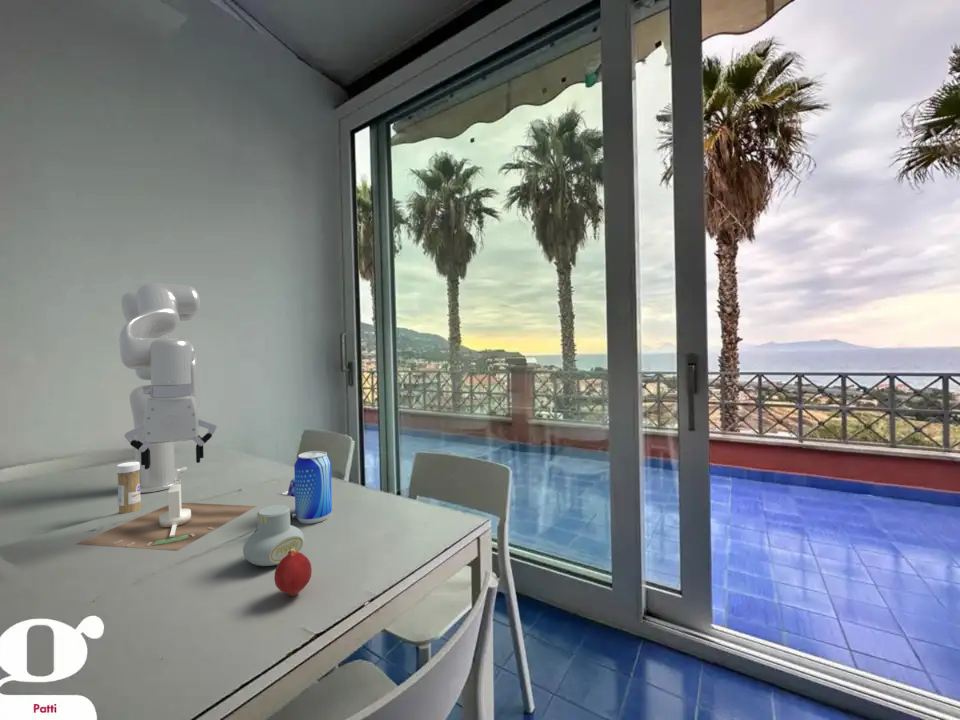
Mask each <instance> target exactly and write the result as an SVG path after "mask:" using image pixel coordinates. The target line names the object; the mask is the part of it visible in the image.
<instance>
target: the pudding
mask: <svg viewBox="0 0 960 720" xmlns="http://www.w3.org/2000/svg"><path fill="white" fill-rule="evenodd" d="M281 494H282V495H285V496H290V497H294V498H295V477H293V478H292V479H291V481H290V482H289V487H288V489H287V490H286V491H285V492H283V493H281Z"/></svg>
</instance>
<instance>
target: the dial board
mask: <svg viewBox="0 0 960 720" xmlns="http://www.w3.org/2000/svg"><path fill="white" fill-rule="evenodd" d="M181 505H182V509H184V508H186V509H190V510H191V520H190V521H189V522H187V523H185V524H182V525H178V526H177V527H176V531H175V536H174V537H170V532H171V529H172V527H161V526H160V521H159V516H160V515H161V514H163V513H165V512H168V511H169V504H168V505H165V506H162V507H160V508H157V509H156V510H155V509H154V510H153V511H151V512H148V513H146V514H144V515H141V516H139V517H136V518H134V519H132V520H129V521H127V522H125V523H122V524H120V525H118V526H115V527H113V528H110V529H107V530H105V531H104V532H101V533H99V534H96V535H93V536H91V537H89V538H86V539H84V540H82V541H80V542H76V545H80V546H81V545H84V546H98V547H99V546H100V547H113V548H114V547H115V548H128V549H129V548H131V549H133V548H134V549H146V550H148V549H149V550H161V551H179V550H181V549H183V548H184V547H187V546H188V545H191V544H192V543H194V542H195V541H197V540H199V539H202V537H205V536H206V535H208V534H210V533H212V532H214V531H215V530H217V529H220V528H221V527H223V526H224V525H226V524H228V523H230V522H232V521H233V520H235V519H237V518H239V517H240V516H243V515H244V514H247V512H249V511H251V510H253V509H255V508H257V505H242V504H241V505H238V504H222V503H221V504H219V503H218V504H216V503H196V502H195V503H194V502H181Z"/></svg>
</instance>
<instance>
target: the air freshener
mask: <svg viewBox="0 0 960 720" xmlns="http://www.w3.org/2000/svg"><path fill="white" fill-rule="evenodd" d="M256 515H257V517H256V519H257V524H256V525H257V527H256V528H257V530H256V531H255V532H254V533H252V534H251V535H250V536H249V537H248V538H247V540H246V541H245V543H244V545H243V547H242V549H243V550H242V551H243V552H242V554H243V557H244V558H245V560H247V561H248V562H249V563H251V564H253V565H255V566H258V567H259V566H262V567H270V566H271V567H272V566H278V564H279V563H280V561H281V560H282V559H283V558H284V557H285V556H286V555H288V552H289V551H290V550H291V549H295V550H296V551H297V552H299V553H300V551H301V550H302V548H303V546H304V543H305V536H304V534H303V532H302V531H301V529H300V528H298V527H297V526H295V525H291V509H290V507H289V506H288V505H287V504H275V505H269V506H268V505H267V506H266V507H264V508H261V509H260V510H259V511H258V512H257V514H256Z"/></svg>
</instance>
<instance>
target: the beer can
mask: <svg viewBox="0 0 960 720" xmlns="http://www.w3.org/2000/svg"><path fill="white" fill-rule="evenodd" d="M297 456H298V457H297V460H296V461H295V463H294V466H293V467H294V478H295V497H294V504H295V505H294V506H295V507H294V509H295V513H294V514H295V518H296V519H297V520H298V521H299V522H300V523H301V524H306V525H307V524H310V525H311V524H317V523H321V522H323V521H326V520H327V519H328V518H329V516H330V514H331V513H332V512H333V511H332V510H333V508H332V507H333V504H332V501H333V499H332V498H333V497H332V461H331V459H330V457H329V456H328V453H327V452H326V451H322V450H313V451H311V450H310V451H306V452H301V453H300V454H298V455H297Z"/></svg>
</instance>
